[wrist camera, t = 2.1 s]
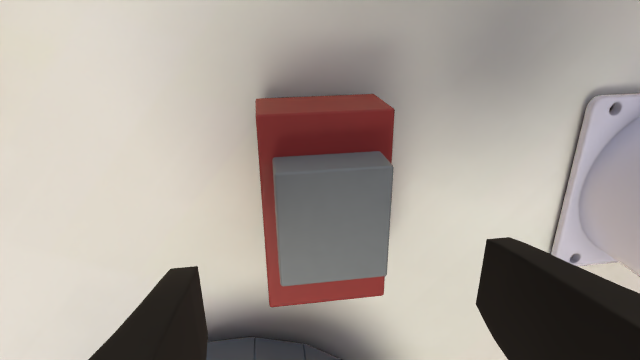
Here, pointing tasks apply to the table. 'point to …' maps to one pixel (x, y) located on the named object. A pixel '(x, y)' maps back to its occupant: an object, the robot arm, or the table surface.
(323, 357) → the bowl
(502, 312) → the robot arm
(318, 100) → the red block grey top
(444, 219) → the table surface
